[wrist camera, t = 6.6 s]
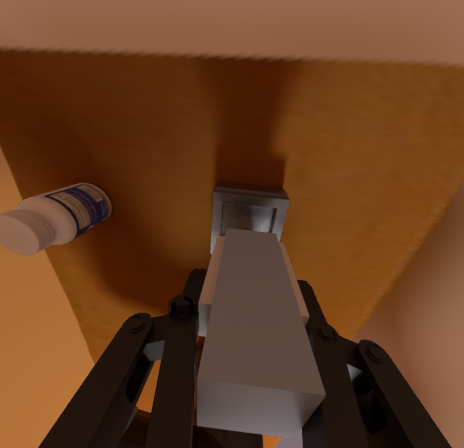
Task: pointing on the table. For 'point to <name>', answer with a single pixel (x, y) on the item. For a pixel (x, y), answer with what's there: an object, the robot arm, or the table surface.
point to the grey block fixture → (247, 209)
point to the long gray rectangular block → (256, 345)
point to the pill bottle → (53, 218)
